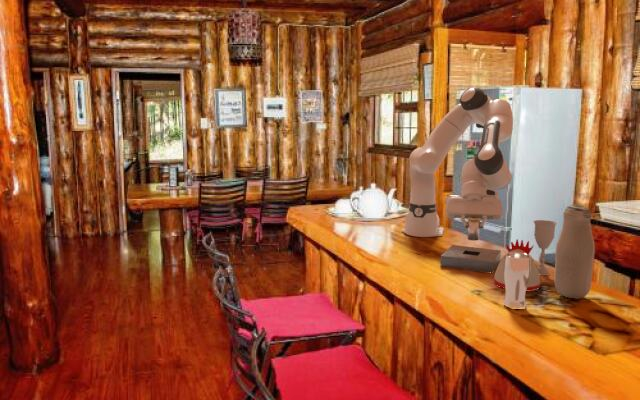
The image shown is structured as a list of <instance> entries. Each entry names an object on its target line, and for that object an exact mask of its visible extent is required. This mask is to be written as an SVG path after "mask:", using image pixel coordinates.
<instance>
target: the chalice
mask: <svg viewBox="0 0 640 400" xmlns="http://www.w3.org/2000/svg"><path fill="white" fill-rule="evenodd" d="M533 223H534V232H533V233H534V239H535V242H536V244H537V246H538V248H539V249H541V252H540V253H539V256H540V259H539V261H540V264H539V265H537V266H538V267H537V268H538V272H539V274H541V275H540V276H542V275H547V276H549V275H550V272H549V270H548V267H547V266H545V261H546V259H545V257H546V253H545V251H546V250H547V249H549V248H550V245H551V244H552V242H553V241H554V238H555V229H556V225H557V223H558V222H557V221H553V220H544V219H538V220H537V219H536V220H533ZM548 274H549V275H548Z"/></svg>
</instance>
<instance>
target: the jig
mask: <svg viewBox="0 0 640 400" xmlns="http://www.w3.org/2000/svg"><path fill="white" fill-rule="evenodd" d="M501 256H502V250H500V249H491V248H485V247H484V248H483V247H475V246H464V245H455V244H452V245H451V246H450V247H449V248H448V249H446V250H445V251H444V252H443V253H442V254H441V255H440V264H439V265H440V268H441V267H442V268H448V267H449V269H455V268H458V269H457V270H463V269H466V270H465V271H470V270H473V271H472V272H478V271H482V272H481V273H485V272H491V273H490V274H493V273H494V272H495V271H496V269H497V267H498V266H497V265H499V264H498V263H500V261H501V259H502V258H501ZM496 266H497V267H496ZM495 268H496V269H495ZM493 271H494V272H493ZM492 272H493V273H492Z"/></svg>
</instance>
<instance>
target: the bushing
mask: <svg viewBox="0 0 640 400" xmlns="http://www.w3.org/2000/svg"><path fill="white" fill-rule="evenodd" d="M466 220H467V222H468V228H467V236H466V237H467V240H469V241H479V240H480V228H479V225H480V222H481V221H482V219H481V217H476V216H469V217H467V219H466Z"/></svg>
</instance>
